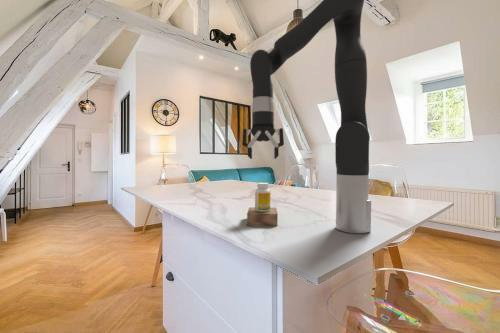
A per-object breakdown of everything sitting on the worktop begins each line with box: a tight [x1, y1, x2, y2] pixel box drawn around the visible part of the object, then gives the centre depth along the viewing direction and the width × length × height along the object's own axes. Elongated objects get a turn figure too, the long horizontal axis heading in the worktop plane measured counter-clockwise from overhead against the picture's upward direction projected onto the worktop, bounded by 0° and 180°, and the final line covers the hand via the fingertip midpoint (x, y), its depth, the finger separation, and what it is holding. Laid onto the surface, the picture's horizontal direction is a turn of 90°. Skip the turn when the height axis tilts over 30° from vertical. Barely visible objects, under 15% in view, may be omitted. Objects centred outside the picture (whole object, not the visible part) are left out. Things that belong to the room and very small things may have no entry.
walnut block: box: [246, 206, 279, 227], centre depth 82 cm, size 10×10×4 cm
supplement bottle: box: [254, 182, 272, 212], centre depth 82 cm, size 5×5×10 cm
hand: (263, 158), depth 81 cm, fingers open, 8 cm apart
